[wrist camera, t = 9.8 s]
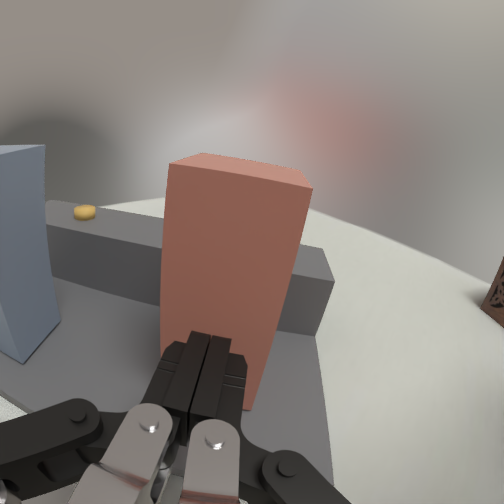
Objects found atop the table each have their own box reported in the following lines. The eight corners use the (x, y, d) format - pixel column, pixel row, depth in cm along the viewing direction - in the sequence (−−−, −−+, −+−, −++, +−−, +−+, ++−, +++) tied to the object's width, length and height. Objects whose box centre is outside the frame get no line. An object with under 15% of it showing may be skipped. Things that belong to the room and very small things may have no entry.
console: (304, 302, 28) (323, 238, 25) (326, 491, 11) (393, 427, 8) (57, 248, 28) (53, 191, 25) (-59, 345, 11) (-89, 266, 8)
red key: (256, 352, 19) (300, 170, 14) (251, 410, 14) (313, 188, 10) (183, 337, 19) (202, 152, 14) (162, 391, 14) (169, 163, 10)
